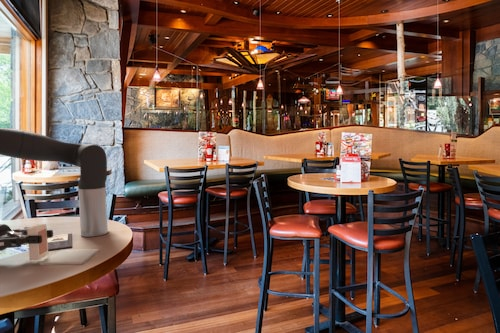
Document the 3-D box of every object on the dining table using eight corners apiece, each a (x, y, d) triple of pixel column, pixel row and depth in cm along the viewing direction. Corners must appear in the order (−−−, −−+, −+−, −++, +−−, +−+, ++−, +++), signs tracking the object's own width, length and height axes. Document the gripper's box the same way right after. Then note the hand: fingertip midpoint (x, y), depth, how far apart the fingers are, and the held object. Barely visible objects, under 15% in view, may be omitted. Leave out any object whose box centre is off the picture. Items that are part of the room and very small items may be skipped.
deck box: (39, 254, 108) (37, 224, 107) (48, 254, 108) (46, 224, 107) (29, 260, 103) (27, 228, 102) (38, 260, 103) (36, 228, 102)
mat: (61, 251, 115) (61, 249, 115) (99, 250, 115) (99, 249, 115) (39, 264, 103) (39, 262, 103) (82, 264, 103) (81, 262, 103)
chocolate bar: (40, 250, 115) (44, 236, 131) (40, 253, 115) (44, 239, 131) (72, 246, 119) (71, 233, 135) (72, 249, 119) (72, 236, 135)
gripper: (-33, 231, 97) (31, 230, 97) (3, 218, 111) (59, 217, 111) (-30, 258, 98) (33, 257, 98) (5, 242, 112) (61, 241, 112)
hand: (46, 236), depth 105 cm, fingers closed on deck box, 5 cm apart
